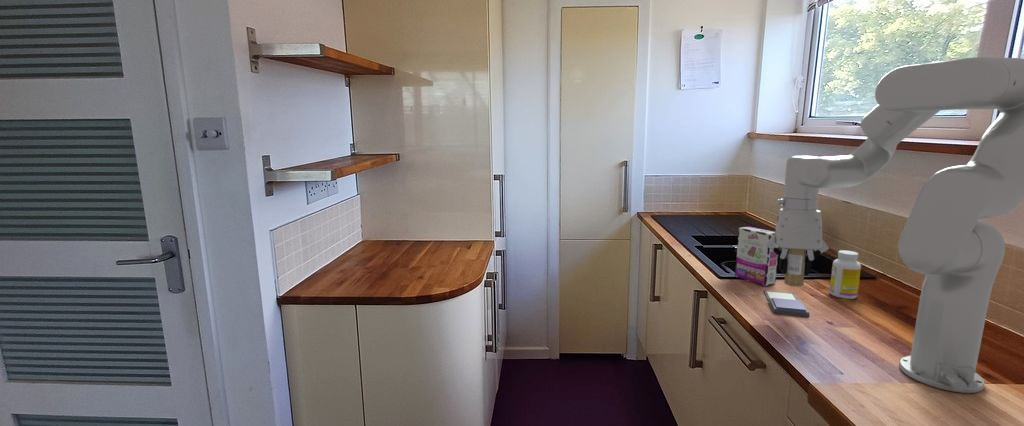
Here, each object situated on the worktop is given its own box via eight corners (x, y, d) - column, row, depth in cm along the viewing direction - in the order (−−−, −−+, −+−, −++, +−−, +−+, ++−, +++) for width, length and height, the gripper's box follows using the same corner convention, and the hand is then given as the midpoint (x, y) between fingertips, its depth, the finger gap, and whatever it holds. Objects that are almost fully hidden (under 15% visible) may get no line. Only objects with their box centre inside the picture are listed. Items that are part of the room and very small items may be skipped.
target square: (800, 304, 132) (800, 303, 132) (768, 300, 134) (768, 299, 134) (794, 294, 139) (794, 293, 139) (763, 291, 142) (763, 290, 142)
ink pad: (808, 316, 123) (809, 311, 123) (774, 313, 126) (774, 307, 126) (801, 305, 131) (802, 299, 130) (768, 302, 133) (769, 296, 133)
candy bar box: (776, 284, 147) (781, 232, 144) (765, 287, 145) (770, 234, 142) (744, 274, 157) (748, 225, 154) (733, 276, 155) (737, 227, 152)
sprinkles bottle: (807, 285, 125) (811, 234, 123) (798, 288, 123) (802, 237, 121) (789, 281, 129) (792, 232, 127) (780, 284, 127) (783, 234, 125)
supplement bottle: (862, 297, 136) (868, 254, 133) (846, 301, 134) (852, 256, 131) (839, 290, 142) (844, 248, 140) (823, 293, 140) (828, 250, 137)
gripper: (765, 205, 122) (760, 274, 125) (843, 207, 116) (836, 280, 119) (760, 201, 129) (756, 267, 132) (833, 203, 123) (827, 271, 126)
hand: (794, 272), depth 126 cm, fingers closed on sprinkles bottle, 4 cm apart
